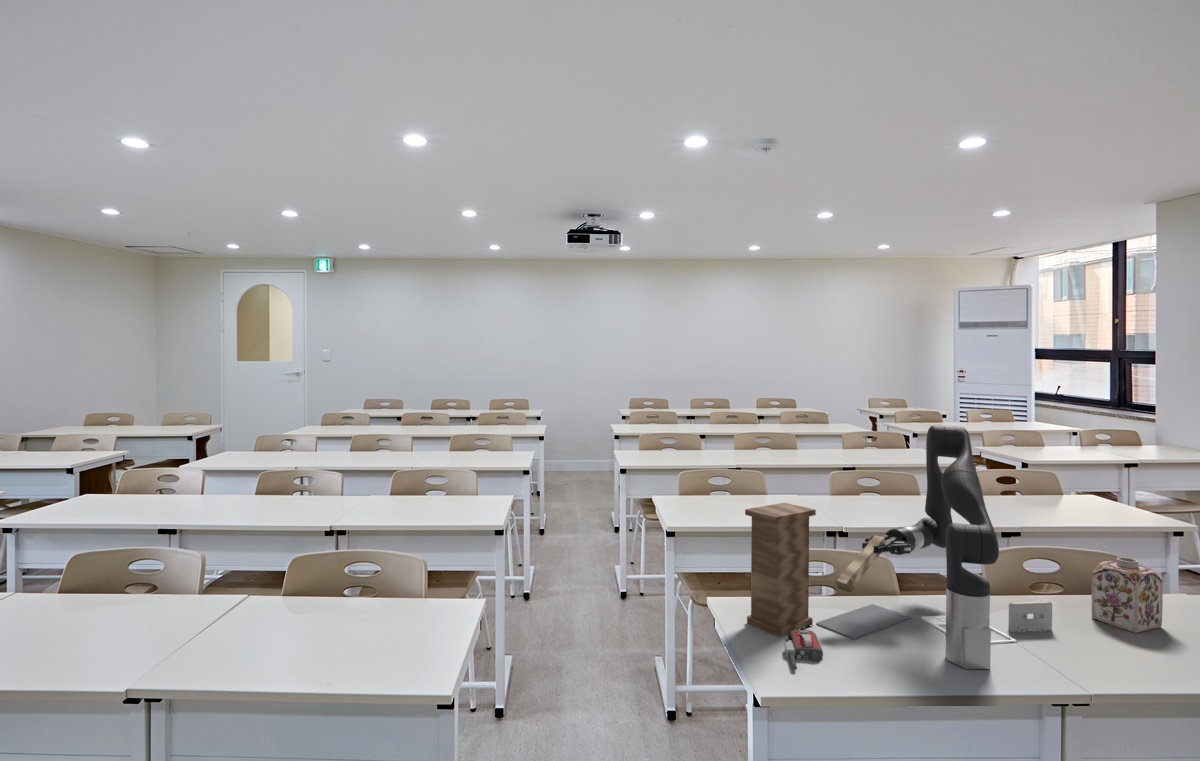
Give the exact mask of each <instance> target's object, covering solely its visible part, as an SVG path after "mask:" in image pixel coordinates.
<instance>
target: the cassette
mask: <svg viewBox="0 0 1200 761" xmlns="http://www.w3.org/2000/svg"><path fill="white" fill-rule="evenodd" d="M1028 615H1032V616H1028ZM1007 626H1008V628H1007V630H1008V631H1009V632H1010V633H1011V632H1012V633H1015V631H1017V633H1029V632H1028V631H1038V632H1047V631H1046V630H1051V631H1052V630H1053V603H1052V602H1051V601H1029V602H1028V601H1027V602H1022V601H1021V602H1009V603H1008V624H1007ZM1013 631H1014V632H1013ZM1026 631H1027V632H1026Z"/></svg>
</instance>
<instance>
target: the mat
mask: <svg viewBox="0 0 1200 761" xmlns="http://www.w3.org/2000/svg"><path fill="white" fill-rule="evenodd" d="M910 619H911V616H909V615H906V614H903V613H900V612H897V611H895V610H892V609H888V608H886V607H883V606H881V605H877V604H874V603H871V604H869V605H865V606H861V607H860V608H856V609H853V610H850V611H848V612H847V611H846V612H845V613H841V614H838V615H835V616H833V617H829V618H827V619H823V620H821V621H818V622H816V623H817V624H820V625H821V626H820V627H822V626H823V627H822V628H824V627H825V628H824V629H827V628H828V629H827V630H829V629H830V630H829V631H832V630H833V631H832V632H834V631H835V633H836V634H839V633H840V634H839V635H841V634H842V636H844V637H847V638H850V639H852V640H857V639H859V638H862V637H864V636H867V635H870V634H873V633H875V632H878V631H881V630H883V629H886V628H888V627H891V626H893V625H894V626H895V625H897V624H900V623H902V622H905V621H908V620H910ZM817 624H816V625H817Z"/></svg>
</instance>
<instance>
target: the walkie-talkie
mask: <svg viewBox="0 0 1200 761" xmlns="http://www.w3.org/2000/svg"><path fill="white" fill-rule="evenodd" d="M787 637H788V641H787V642H785V643H784V652H785V657H786V658H789V660H790V664H791V667H792V669H793V670H795V671H797V669H798V666H797V662H796V660H808V661H809V660H811V661H823V656H824V652H823V647H822V646H821V644H820V642H819V639H818V636H817V634H816V633H815V631H812V630H810V629H809V630H808V629H807V630H806V629H805V630H804V629H800V630H792V631H791V632H790V633H788V634H787ZM795 659H796V660H795Z"/></svg>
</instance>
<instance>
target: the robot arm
mask: <svg viewBox="0 0 1200 761" xmlns="http://www.w3.org/2000/svg"><path fill="white" fill-rule="evenodd" d="M925 450H926V451H925V453H926V454H925V456H926V458H925V459H926V461H925V466H926V485H927V486H926V496H925V497H926V498H925V506H924V512H925V513H926V515H927V516H928V517H923V518H921V519H920V520H919V521H918V522H916V523H915V524H912V525H910V526H909V525H905V526H900V527H895V528H891V529H889V530H888V531H886V533H885V534H884V535H882V536H881V537H884V539H885V541H886V543H883V544H879V545H875V546H874V553H875V554H878V553H881V554H882V553H885V554H888V553H890V554H891V555H896V556H902V555H905V554H909V555H910V554H911V553H913V552H917V551H918V550H921V549H925V548H927V547H929V546H931V545H934V546H936V547H938V548H941V549H945V554H946V555H945V556H946V587H945V588H946V589H945V590H946V591H945V592H946V593H945V596H946V597H945V615H946V625H945V630H946V633H945V658H946V660H947V661H948V662H951V663H952V664H954V665H956V666H959V667H961V668H963V669H966V670H969V669H970V670H990V669H991V655H992V654H991V650H992V649H991V646H992V644H991V641H992V640H991V639H992V637H991V636H992V633H991V632H992V630H991V629H989V626H990V619H991V618H990V613H991V612H990V610H991V607H990V606H991V601H990V600H991V584H990V582H989V580H987V579H986V578H985V577H982V576H981V575H978V574H975V573H973V572H970V571H969V570H967V569H966V568H965V567H964V566H963V563H964V564H974V565H975V564H976V565H983V566H984V565H985V566H987V565H993V564H995V563H996V562H997V561H998V558H999V556H1000V555H999V554H1000V548H999V547H1000V545H999V540H998V537H997V534H996V531H995V529H994V525H993V524H992V522H991V519H990V518H991V517H990V516H989V513H988V511H987V508H986V504H985V499H984V495H983V489H982V485H981V482H980V479H979V475H978V472H977V469H976V465H975V462H974V456H973V450H972V443H971V436H970V434H969V431H968V429H966V428H965V427H962V426H958V425H956V426H955V425H942V424H941V425H939V424H938V425H937V424H932V425H931V426H929V428H928V430H927V433H926V444H925ZM938 457H944V458H956V459H955V460H953V461H952V463H951V464H949V466H948V467H947V468H946V469H945V470H944V471H943V472H942V470H941V468H940V465H939V458H938ZM952 510H954V512H956V513H957V514H958V515H959V516H961V517H962V518H963V519H964V520H965V521H966V522H968V523H969V524H968V523H957V522H956V523H955V522H953V518H952ZM873 537H874V535H873V534H868V535H867V536H865V538H864V542H863V543H862V544H861V550H863V548H864V547H865V546H866V545H867V544H868V543H869V541H870V540H871V539H872V538H873Z"/></svg>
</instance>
